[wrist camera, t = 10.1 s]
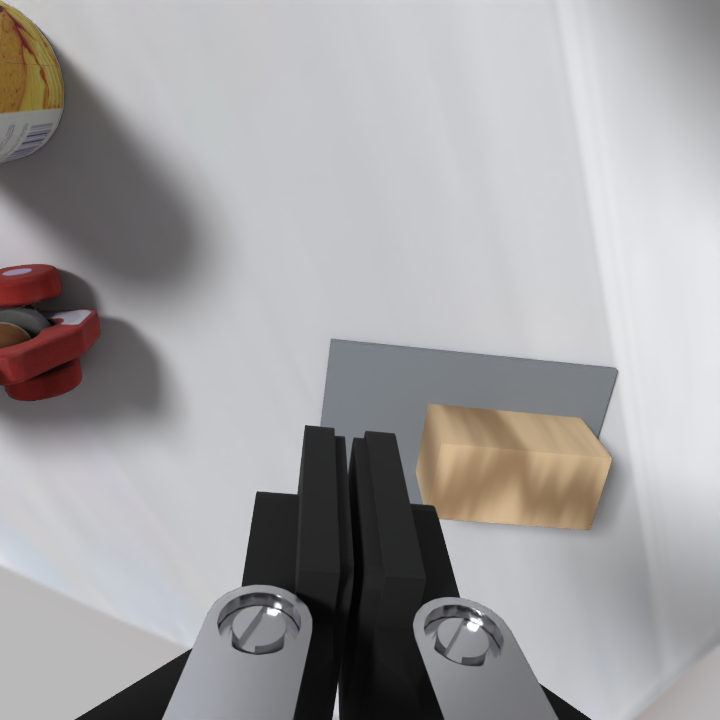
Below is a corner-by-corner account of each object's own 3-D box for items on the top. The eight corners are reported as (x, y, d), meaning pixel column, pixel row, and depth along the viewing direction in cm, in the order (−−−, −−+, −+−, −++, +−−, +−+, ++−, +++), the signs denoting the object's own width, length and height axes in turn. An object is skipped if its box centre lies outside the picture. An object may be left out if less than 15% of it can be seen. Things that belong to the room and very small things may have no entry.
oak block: (441, 443, 37) (615, 458, 38) (428, 403, 42) (583, 418, 43) (426, 517, 39) (592, 530, 40) (415, 471, 43) (564, 484, 44)
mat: (330, 338, 40) (331, 341, 40) (615, 367, 42) (617, 370, 41) (310, 505, 44) (310, 508, 44) (568, 525, 46) (570, 528, 46)
